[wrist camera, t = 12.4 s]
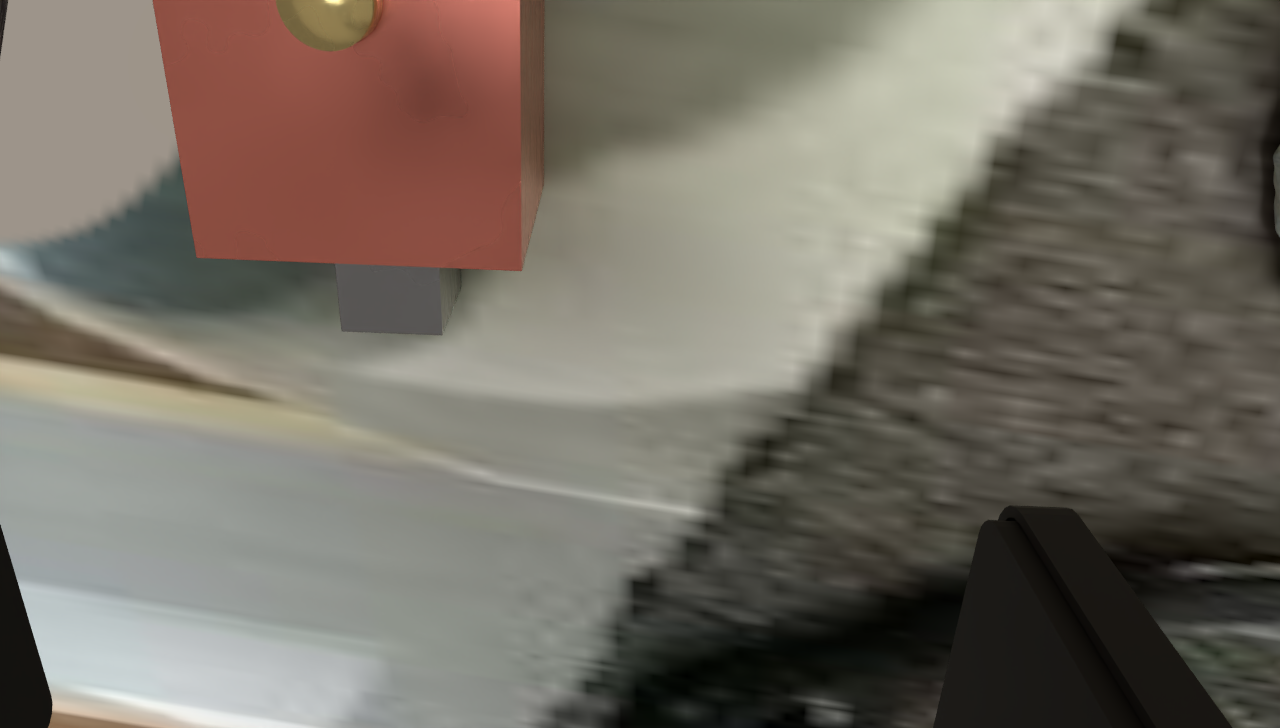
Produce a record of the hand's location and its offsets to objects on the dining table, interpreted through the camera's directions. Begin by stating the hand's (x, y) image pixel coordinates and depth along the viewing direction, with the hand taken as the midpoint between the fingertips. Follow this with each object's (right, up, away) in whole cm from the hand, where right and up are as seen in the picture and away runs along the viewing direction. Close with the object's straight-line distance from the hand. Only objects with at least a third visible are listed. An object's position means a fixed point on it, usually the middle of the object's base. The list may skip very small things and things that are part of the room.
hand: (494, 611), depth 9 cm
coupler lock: (-4, +10, +13) cm, 17 cm away
